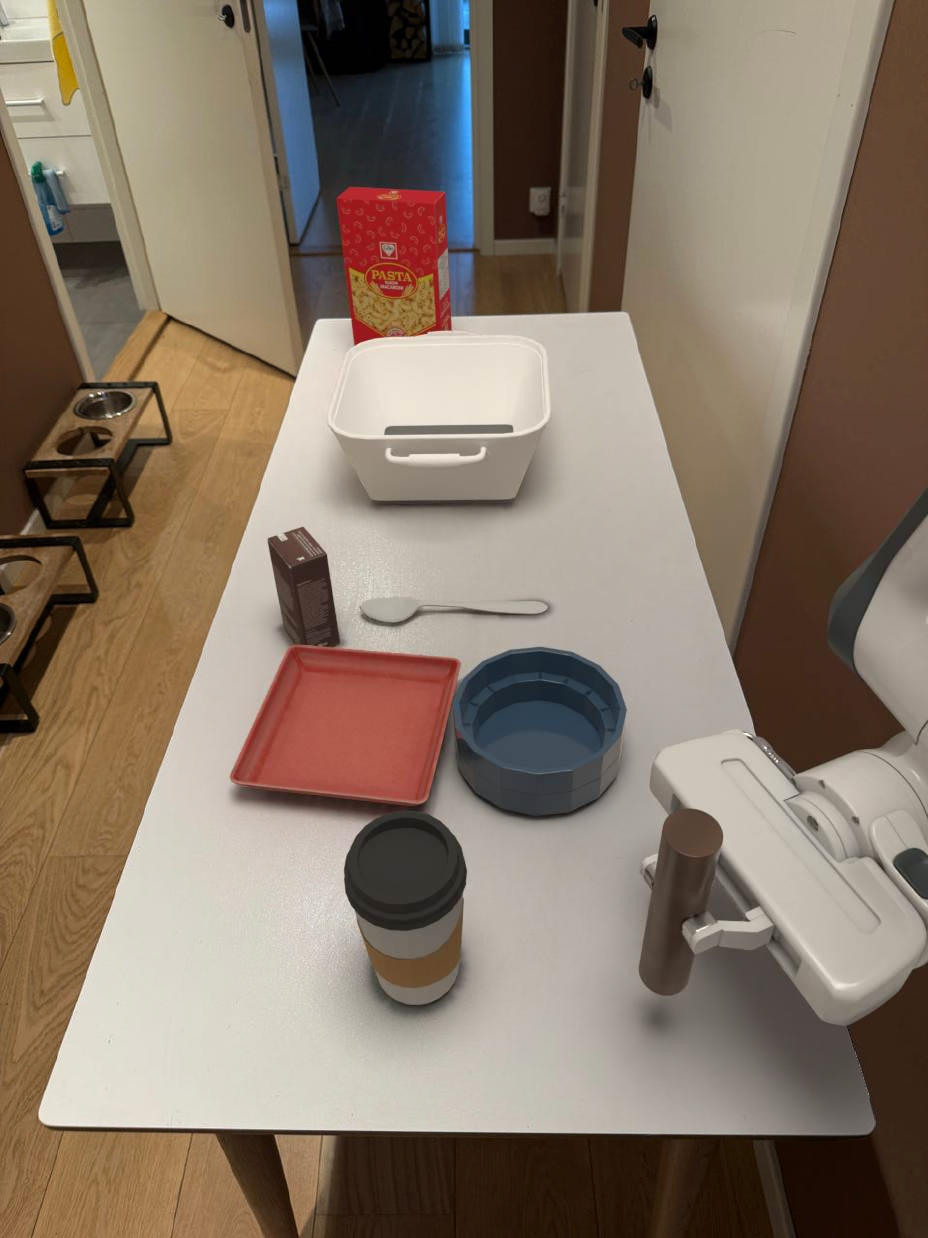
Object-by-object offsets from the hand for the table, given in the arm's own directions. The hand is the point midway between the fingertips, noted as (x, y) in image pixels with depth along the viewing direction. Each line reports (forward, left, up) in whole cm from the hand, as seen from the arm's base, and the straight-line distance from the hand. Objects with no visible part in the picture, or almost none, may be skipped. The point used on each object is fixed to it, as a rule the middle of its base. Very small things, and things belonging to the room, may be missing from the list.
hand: (666, 907), depth 57 cm
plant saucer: (+36, -7, -15) cm, 39 cm away
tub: (+59, -49, -15) cm, 78 cm away
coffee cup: (+16, +7, -15) cm, 23 cm away
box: (+50, -15, -15) cm, 54 cm away
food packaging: (+86, -71, -15) cm, 112 cm away
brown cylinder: (0, -1, -9) cm, 9 cm away
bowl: (+21, -16, -15) cm, 30 cm away
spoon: (+40, -27, -15) cm, 50 cm away
